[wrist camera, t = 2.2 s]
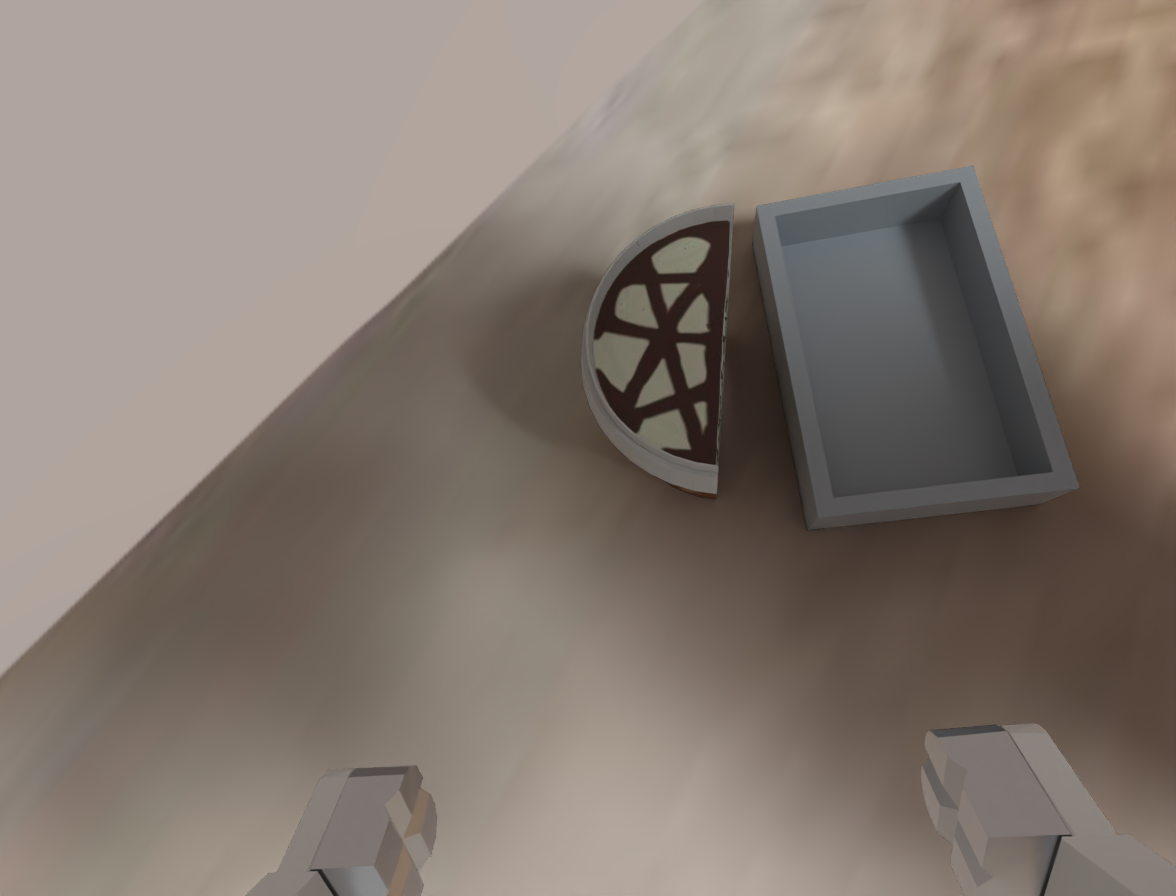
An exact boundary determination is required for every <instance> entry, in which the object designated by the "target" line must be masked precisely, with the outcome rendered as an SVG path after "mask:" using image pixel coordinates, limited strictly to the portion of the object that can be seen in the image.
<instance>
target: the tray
mask: <svg viewBox="0 0 1176 896" xmlns="http://www.w3.org/2000/svg"><path fill="white" fill-rule="evenodd" d="M752 247H753V252H754V257H755V263H756V268H757V273H758V278H759V284H760V289H761V294H762V299H763V304H764V310H765V315H766V320H767V325H768V331H769V336H770V341H771V346H772V351H773V357H774V362H775V367H776V372H777V377H778V383H779V388H780V393H781V398H782V404H783V409H784V414H785V419H786V424H787V430H788V435H789V440H790V445H791V451H792V456H793V461H794V466H795V471H796V477H797V482H798V487H799V492H800V497H801V503H802V508H803V513H804V518H805V524H806V529H807V530H815V529H824V528H833V527H842V526H851V525H860V524H869V523H878V522H887V521H896V520H905V519H914V518H923V517H932V516H941V515H950V514H959V513H968V512H977V511H986V510H995V509H1004V508H1013V507H1022V506H1031V505H1039V504H1042V503H1044V502H1046V501H1049V500H1051V499H1054V498H1056V497H1059V496H1061V495H1064V494H1066V493H1069V492H1071V491H1074V490H1076V489H1079V488H1080V486H1079V483H1078V480H1077V477H1076V474H1075V471H1074V468H1073V465H1072V462H1071V459H1070V456H1069V453H1068V450H1067V447H1066V444H1065V441H1064V438H1063V435H1062V432H1061V429H1060V426H1059V423H1058V420H1057V417H1056V414H1055V411H1054V408H1053V405H1052V402H1051V399H1050V396H1049V393H1048V390H1047V387H1046V384H1045V381H1044V378H1043V375H1042V372H1041V369H1040V366H1039V363H1038V360H1037V357H1036V354H1035V351H1034V348H1033V345H1032V342H1031V339H1030V336H1029V333H1028V330H1027V327H1026V324H1025V321H1024V317H1023V314H1022V311H1021V308H1020V305H1019V302H1018V299H1017V296H1016V293H1015V290H1014V287H1013V284H1012V281H1011V278H1010V275H1009V272H1008V269H1007V266H1006V263H1005V260H1004V257H1003V254H1002V251H1001V248H1000V245H999V242H998V239H997V236H996V233H995V230H994V227H993V224H992V221H991V218H990V215H989V212H988V209H987V206H986V203H985V200H984V197H983V194H982V191H981V188H980V185H979V182H978V179H977V176H976V173H975V170H974V167H973V166H969V167H963V168H958V169H953V170H947V171H942V172H936V173H931V174H926V175H920V176H915V177H910V178H904V179H899V180H894V181H888V182H883V183H877V184H872V185H867V186H861V187H856V188H851V189H845V190H840V191H834V192H829V193H824V194H818V195H813V196H808V197H802V198H797V199H791V200H786V201H781V202H775V203H770V204H765V205H759V206H757V207H756V216H755V225H754V233H753V242H752Z"/></svg>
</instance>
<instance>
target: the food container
mask: <svg viewBox="0 0 1176 896" xmlns="http://www.w3.org/2000/svg"><path fill="white" fill-rule="evenodd" d="M733 219H734V203H730V204H719V205H711V206H707V207H702V208H698V209H693V210H690V211H687V212H684V213H682V214H679V215H676V216H673V217H671V218H669V219H667V220H665V221H663V222H661V223H659V224H658V225H656V226H654V227H652V228H651V229H649V230H648V231H646V232H645V233H644V234H642V235H641V236H639V237H638V238H636V239H635V240H634V241H633V242H632V243H631V244H630V245H629V246H628V247H627V248H626V249H624V250H623V251H622V252H621V253H620V255H619V256H618V257H617V258H616V260H615V261H614V262H613V263H612V265H611V266H610V267H609V268H608V270H607V271H606V273H605V275H604V277H603V278H602V280H601V282H600V283H599V285H598V287H597V289H596V290H595V292H594V294H593V297H592V299H591V302H590V305H589V307H588V310H587V313H586V318H585V322H584V327H583V332H582V353H581V371H582V379H583V386H584V390H585V393H586V396H587V400H588V403H589V406H590V408H591V410H592V412H593V414H594V416H595V418H596V420H597V422H598V424H599V426H600V427H601V429H602V430H603V431H604V433H605V434H606V436H607V437H608V438H609V440H610V441H611V442H612V444H613V445H614V446H615V447H616V448H618V449H619V450H620V451H621V452H622V453H623V454H624V455H625V456H626V457H627V458H628V459H629V460H630V461H632V462H633V463H635V464H636V465H638V466H639V467H641V468H642V469H643V470H645V471H646V472H648V473H649V474H652V475H654V476H656V477H658V478H660V479H662V480H664V481H665V482H667V483H668V484H670V485H671V486H673V487H675V488H677V489H679V490H681V491H683V492H685V493H688V494H692V495H695V496H698V497H704V498H711V499H717V484H718V467H719V450H720V433H721V417H722V400H723V384H724V367H725V351H726V334H727V318H728V301H729V285H730V269H731V252H732V236H733Z"/></svg>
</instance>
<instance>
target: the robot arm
mask: <svg viewBox="0 0 1176 896" xmlns="http://www.w3.org/2000/svg"><path fill="white" fill-rule="evenodd" d="M924 747H925V749H926V751H927V753H928V755H929V759H928V760H927V761H926V762H924V763H923V764H922V769H921V784H922V790H923V796H924V800H925V803H926V806H927V809H928V812H929V815H930V818H931V820H932V822H933V825H934V827H935V830H936V832H937V833H939V834H940V835H941V836H942V837H943V838H944V839H946V840H947V841H948V842H949V843H950V844H952V845H953V848H952V854H951V861H950V864H951V867H952V869H953V871H954V873H955V876H956V878H957V880H958V882H959V885H960V887H961V889H962V891H963V894H964V896H1176V866H1175V865H1174V864H1172V863H1171V862H1169V861H1168V860H1166V859H1165V858H1163V857H1162V856H1160V855H1159V854H1158V853H1156V852H1155V851H1153V850H1152V849H1150V848H1149V847H1147V846H1146V845H1145V844H1143V843H1142V842H1140V841H1139V840H1137V839H1136V838H1134V837H1133V836H1131V835H1130V834H1117V833H1116V832H1115V830H1114V829H1113V827H1112V826H1111V824H1110V823H1109V821H1108V820H1107V819H1106V817H1105V816H1104V814H1103V813H1102V811H1101V810H1100V808H1099V807H1098V805H1097V804H1096V803H1095V801H1094V800H1093V798H1092V797H1091V795H1090V794H1089V792H1088V791H1087V790H1086V788H1085V787H1084V785H1083V784H1082V782H1081V781H1080V779H1079V778H1078V776H1077V775H1076V774H1075V772H1074V771H1073V769H1072V768H1071V766H1070V765H1069V763H1068V762H1067V761H1066V759H1065V758H1064V756H1063V755H1062V753H1061V752H1060V750H1059V749H1058V747H1057V746H1056V745H1055V743H1054V742H1053V740H1052V739H1051V737H1050V736H1049V734H1048V733H1047V732H1046V730H1045V729H1044V728H1042V727H1041V726H1040V725H1038V724H1036V723H1025V724H1014V725H1003V726H997V725H986V726H974V727H962V728H950V729H938V730H929V731H928V732H927V734H926V735H925V742H924ZM422 780H423V777H422V775H421V773H420V771H419V769H418V767H417V765H413V766H393V767H373V768H349V769H334V770H328V771H327V772H326V773H325V774H324V775H323V776H322V777H321V779H320V780H319V782H318V784H317V786H316V788H315V790H314V792H313V795H312V797H311V799H310V801H309V803H308V806H307V808H306V810H305V812H304V814H303V816H302V819H301V821H300V823H299V825H298V827H297V830H296V832H295V834H294V836H293V838H292V840H291V843H290V845H289V847H288V849H287V851H286V854H285V856H284V858H283V860H282V862H281V864H280V867H279V869H278V871H277V872H275V873H268V874H267V875H266V876H265V877H264V878H263V879H262V880H261V881H260V882H259V883H258V884H257V885H256V886H255V887H254V888H253V889H252V890H251V891H249V892H248V893H247V894H246V895H245V896H421V893H422V890H423V886H424V885H423V882H422V880H421V877H420V874H419V869H420V868H421V867H422V866H423V865H424V864H425V862H426V861H427V860H428V859H429V858H430V857H431V855H432V850H433V846H434V842H435V838H436V825H437V814H436V808H435V803H434V801H433V798H432V796H431V794H429V793H428V792H426V791H425V790H423V789H421V788H420V786H421V783H422Z"/></svg>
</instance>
